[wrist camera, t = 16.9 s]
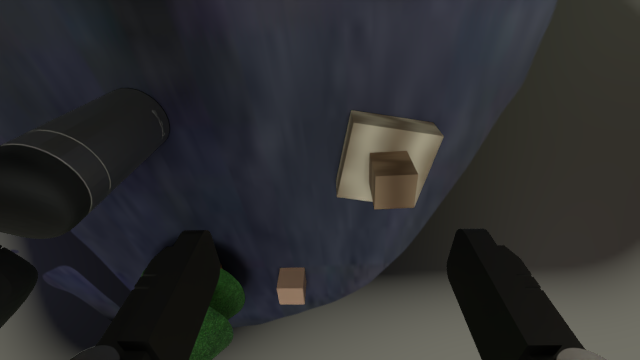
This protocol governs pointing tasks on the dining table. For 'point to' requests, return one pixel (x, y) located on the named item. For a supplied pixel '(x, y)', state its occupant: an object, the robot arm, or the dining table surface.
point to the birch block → (383, 149)
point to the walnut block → (392, 180)
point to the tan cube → (291, 286)
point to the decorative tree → (218, 318)
